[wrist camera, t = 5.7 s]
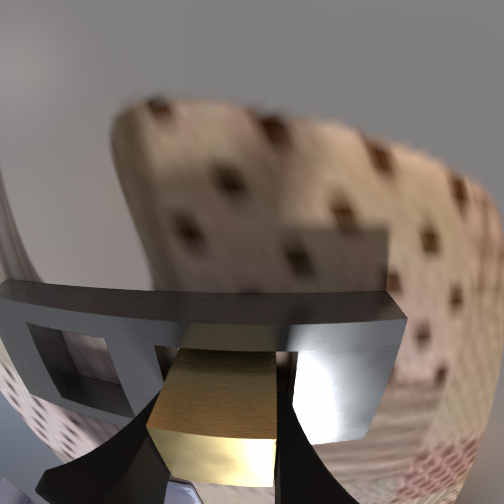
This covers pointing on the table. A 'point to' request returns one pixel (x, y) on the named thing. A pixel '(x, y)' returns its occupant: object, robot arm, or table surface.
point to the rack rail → (206, 346)
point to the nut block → (218, 417)
